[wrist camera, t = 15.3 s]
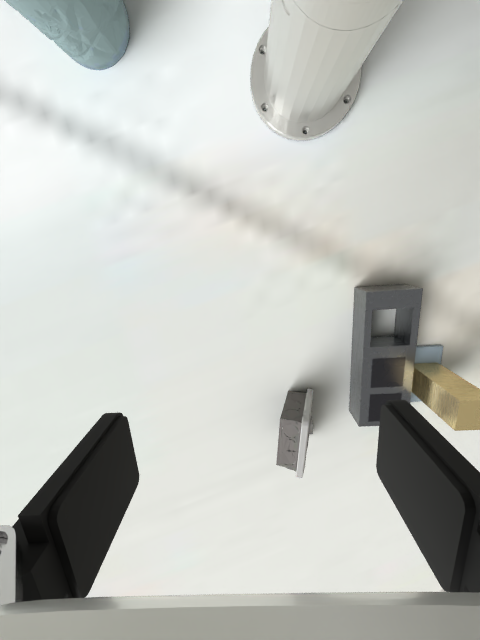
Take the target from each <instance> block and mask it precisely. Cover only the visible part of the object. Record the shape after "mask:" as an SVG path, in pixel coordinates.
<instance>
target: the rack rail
mask: <svg viewBox="0 0 480 640" xmlns="http://www.w3.org/2000/svg"><path fill="white" fill-rule="evenodd" d="M422 291H423V288H419V287H415V286H411V285H407V284H398V285H382V286H367V287H355V288H354V311H353V333H352V356H351V379H350V402H349V411H350V413H351V414H352V416H353V418H354V419H355V421H356V423H357V424H358V426H380V414H381V406H382V405H385V404H386V401H388V400H406V401H407V402H408V403H409V404H410V399H411V390H412V381H413V372H414V363H415V354H416V345H417V336H418V327H419V318H420V309H421V300H422ZM380 309H396V319H395V331H394V336H377V337H371V326H372V310H380Z"/></svg>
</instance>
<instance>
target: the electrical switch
mask: <svg viewBox="0 0 480 640" xmlns="http://www.w3.org/2000/svg"><path fill="white" fill-rule="evenodd" d="M312 401H313V389H309V388H307V393H303V392H294V391H288V394H287V397H286V401H285V404H284V408H283V411H282V414H281V418H280V428H279V440H278V452H277V464H276V465H279V466H283V467H286V468H288V469H291V470H294V471H296V477H298V478H302V477H303V473H304V468H305V460H306V451H307V447H308V439H309V434H313V421H312V416H311V409H312ZM286 410H287V411H286ZM282 418H283V419H282ZM282 428H283V429H282Z"/></svg>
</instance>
